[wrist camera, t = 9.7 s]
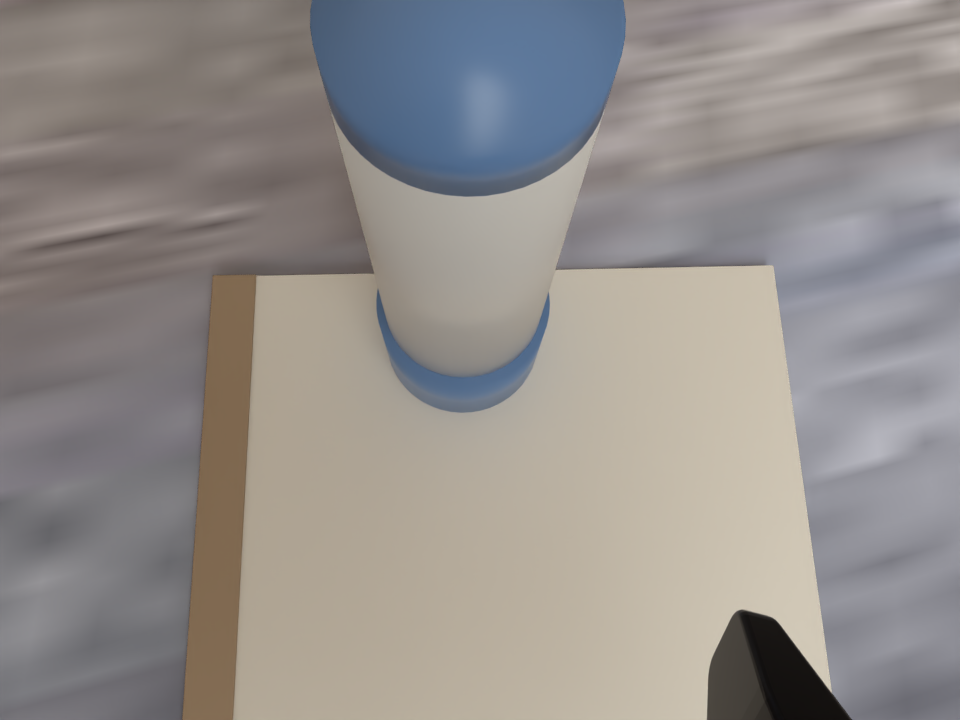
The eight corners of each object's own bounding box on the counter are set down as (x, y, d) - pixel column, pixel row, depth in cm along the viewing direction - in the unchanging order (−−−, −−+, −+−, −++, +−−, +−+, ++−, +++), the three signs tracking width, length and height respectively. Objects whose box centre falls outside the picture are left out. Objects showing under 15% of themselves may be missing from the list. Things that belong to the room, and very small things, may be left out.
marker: (561, 380, 22) (700, 103, 9) (418, 435, 21) (361, 220, 9) (503, 248, 23) (558, -160, 10) (366, 298, 22) (249, -69, 10)
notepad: (853, 896, 19) (862, 904, 18) (175, 921, 19) (167, 931, 18) (768, 270, 23) (774, 264, 23) (218, 282, 23) (213, 275, 22)
